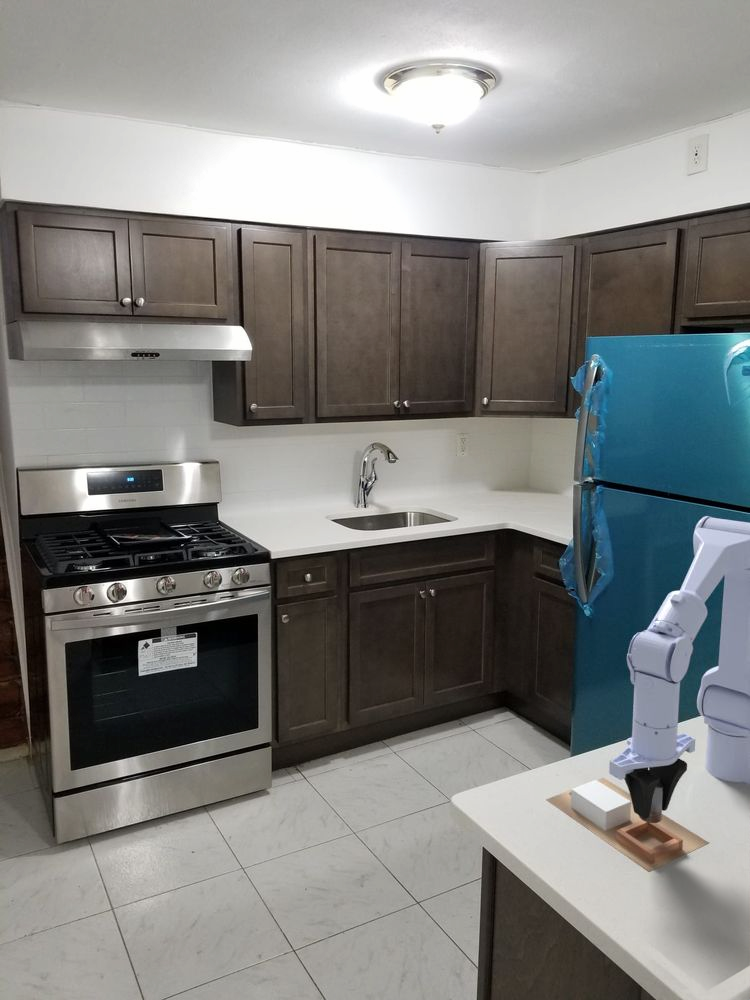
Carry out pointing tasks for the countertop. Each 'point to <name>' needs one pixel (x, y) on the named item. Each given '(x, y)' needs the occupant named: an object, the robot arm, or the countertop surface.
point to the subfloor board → (638, 834)
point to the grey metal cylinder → (656, 805)
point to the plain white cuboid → (600, 804)
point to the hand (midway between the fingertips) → (650, 810)
